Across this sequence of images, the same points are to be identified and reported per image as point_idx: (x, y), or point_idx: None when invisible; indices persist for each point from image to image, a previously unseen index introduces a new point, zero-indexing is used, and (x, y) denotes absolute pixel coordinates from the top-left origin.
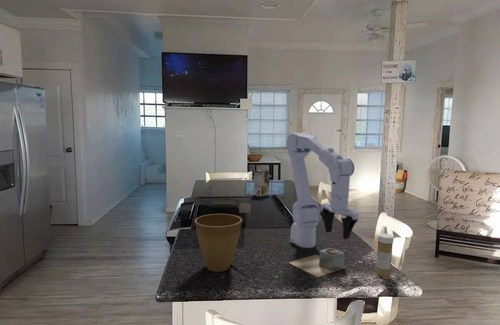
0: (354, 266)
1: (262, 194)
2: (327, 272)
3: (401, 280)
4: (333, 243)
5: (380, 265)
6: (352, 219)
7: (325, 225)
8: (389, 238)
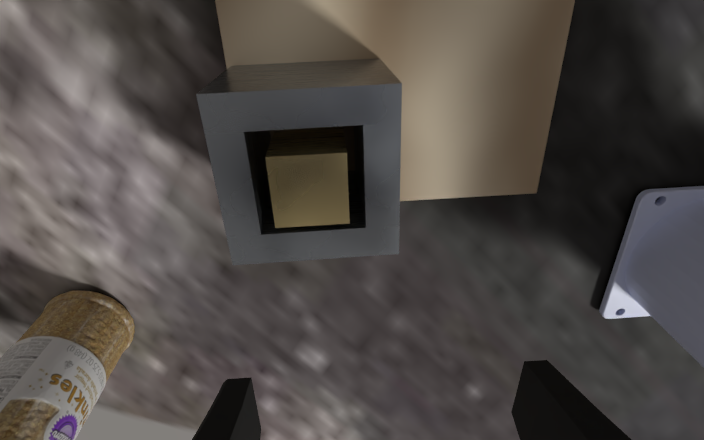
0: (275, 290)
1: None
2: (233, 12)
3: None
4: None
5: (19, 351)
6: None
7: (605, 435)
8: None
